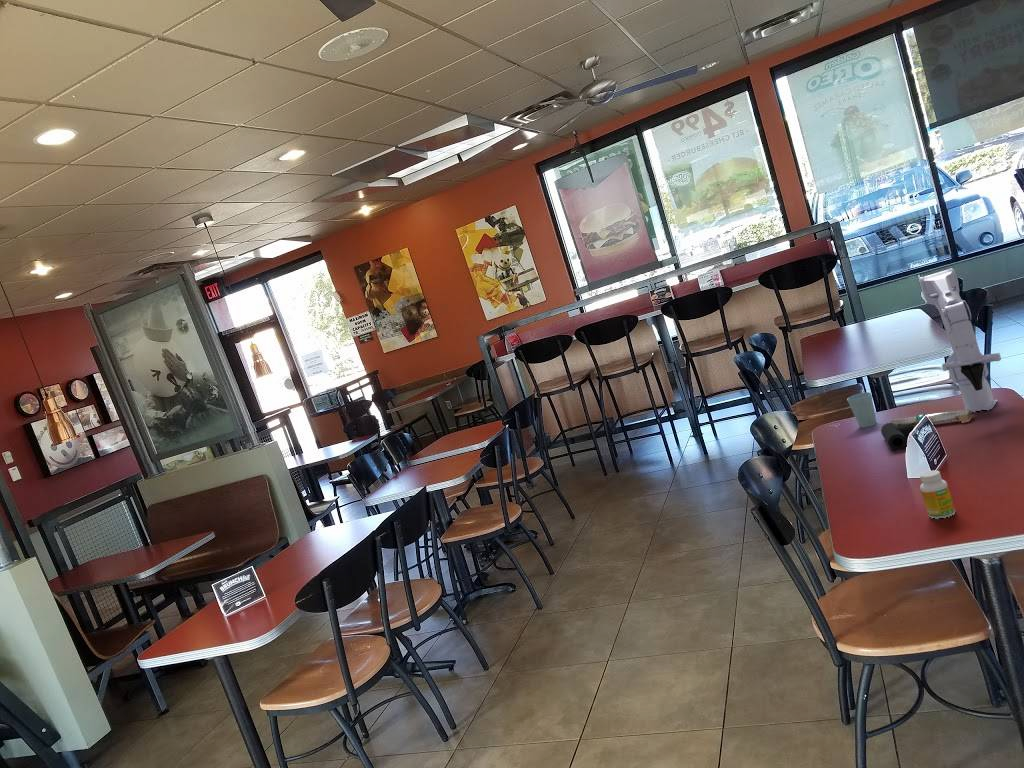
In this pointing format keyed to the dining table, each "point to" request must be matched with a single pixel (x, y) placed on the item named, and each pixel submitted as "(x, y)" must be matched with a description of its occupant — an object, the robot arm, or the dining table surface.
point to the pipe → (937, 417)
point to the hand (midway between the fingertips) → (979, 389)
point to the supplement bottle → (936, 495)
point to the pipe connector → (897, 434)
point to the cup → (863, 409)
